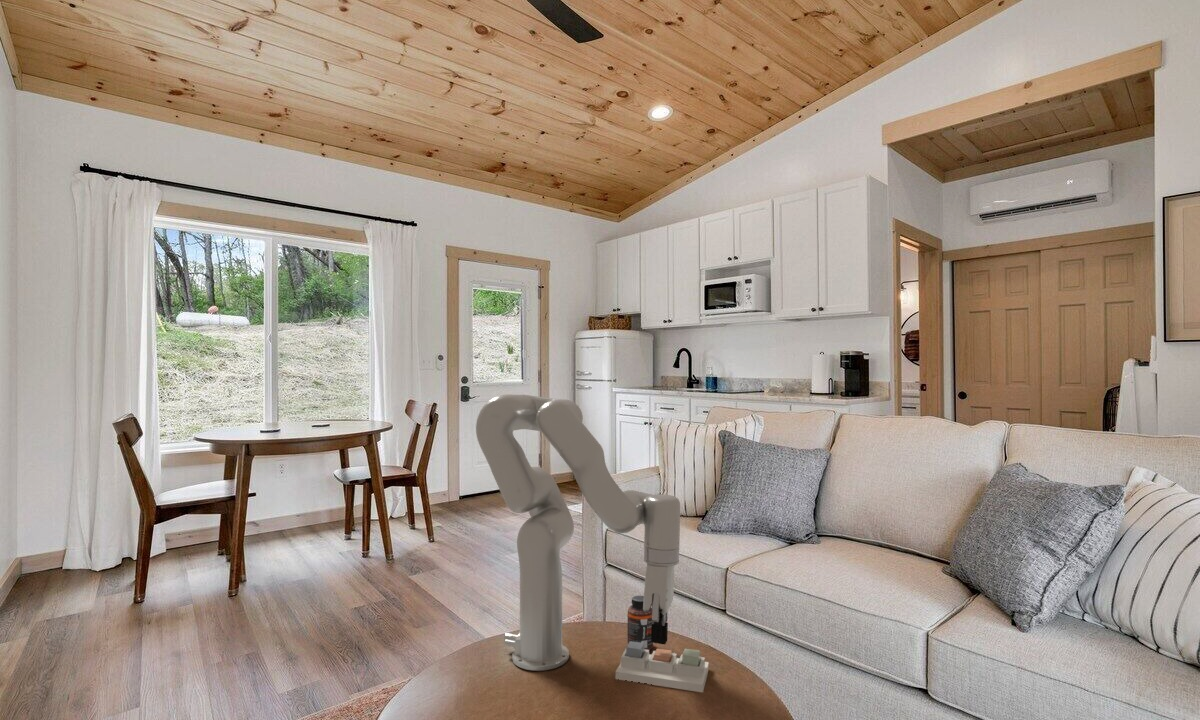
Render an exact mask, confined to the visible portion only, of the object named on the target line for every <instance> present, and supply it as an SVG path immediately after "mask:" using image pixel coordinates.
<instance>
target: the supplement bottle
mask: <svg viewBox="0 0 1200 720" xmlns="http://www.w3.org/2000/svg"><path fill="white" fill-rule="evenodd" d="M643 602H644V595H635V596H632V597H631V605H630V606H629V607H628V608H627V634H626V635H627V644H628V643H629V642H630V641H632V642H640V643H644V649H646V650H649V651H651V650H652V648H653V647H654V646H653V645H654V643H652V642H651V624H652V606H651V607H650V609H649V611H647V612H644V610H643Z"/></svg>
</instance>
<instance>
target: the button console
mask: <svg viewBox="0 0 1200 720" xmlns="http://www.w3.org/2000/svg"><path fill="white" fill-rule="evenodd" d="M655 651H656V650H653V651H652V653H651V654H650V650H646V649H644V655H643V657H642V658H635V657H628V656H626V648H625V649H624V651H623V653H622V655H621V656H620V663H619V665H618V666H617V668H616V670H615V678H614V679H615V680H618V679H619V681H625V680H627V681H626V682H631V681H633V682H632V683H638V682H640V683H639V684H644V683H647V684H646V685H651V684H652V685H653V686H657V687H663V688H664V687H665V688H669V689H670V688H672V689H675V690H677V689H678V690H685V691H691V692H695V693H704V690H705V687H706V683H707V682H706V681H707V678H708V674H709V670H710V667H709V666H710V665H709V664H710V663H709V661H706V657H705V656H704V657H702V656H700V664H699V666H692V665H685V664H682V655H683V653H682V654H681V655H680V656H679V657H677V653H675V652H672V659H671V662H663V661H656V660H654V654H655Z"/></svg>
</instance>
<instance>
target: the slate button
mask: <svg viewBox="0 0 1200 720" xmlns="http://www.w3.org/2000/svg"><path fill="white" fill-rule="evenodd" d="M625 649H626V656H628V657H635V658H642V657H643V655H644V643H640V642H632V641H630V642H629V643H628V642H627V645H626V646H625Z"/></svg>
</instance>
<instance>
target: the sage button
mask: <svg viewBox="0 0 1200 720" xmlns="http://www.w3.org/2000/svg"><path fill="white" fill-rule="evenodd" d="M700 657H701V650H697V649H692V648H691V649H690V648H684V650H683V652H682V664H685V665H692V666H699V664H700Z"/></svg>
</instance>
